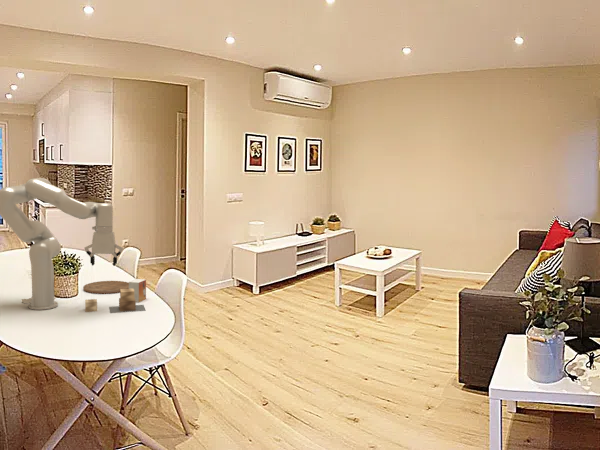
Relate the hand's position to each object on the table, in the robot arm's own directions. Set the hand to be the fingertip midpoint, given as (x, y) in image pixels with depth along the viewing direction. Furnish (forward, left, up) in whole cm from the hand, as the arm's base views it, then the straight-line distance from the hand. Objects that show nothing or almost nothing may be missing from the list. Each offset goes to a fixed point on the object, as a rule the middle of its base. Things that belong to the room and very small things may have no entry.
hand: (103, 265), depth 250 cm
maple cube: (-6, -3, -21) cm, 22 cm away
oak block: (+10, -5, -16) cm, 20 cm away
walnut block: (+10, -5, -21) cm, 24 cm away
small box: (+16, +10, -21) cm, 28 cm away
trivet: (+3, +40, -22) cm, 45 cm away
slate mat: (+10, -5, -21) cm, 24 cm away
